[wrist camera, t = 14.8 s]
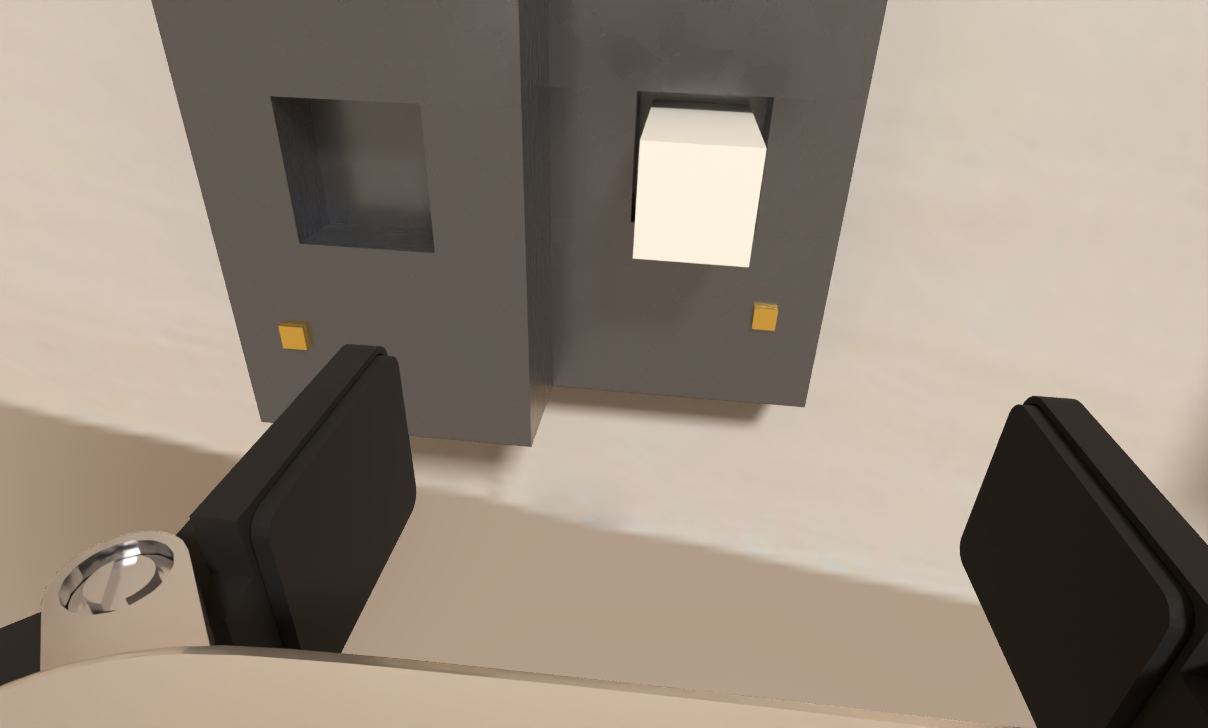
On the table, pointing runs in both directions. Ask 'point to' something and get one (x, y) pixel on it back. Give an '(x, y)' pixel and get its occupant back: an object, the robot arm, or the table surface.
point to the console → (512, 192)
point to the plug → (698, 183)
